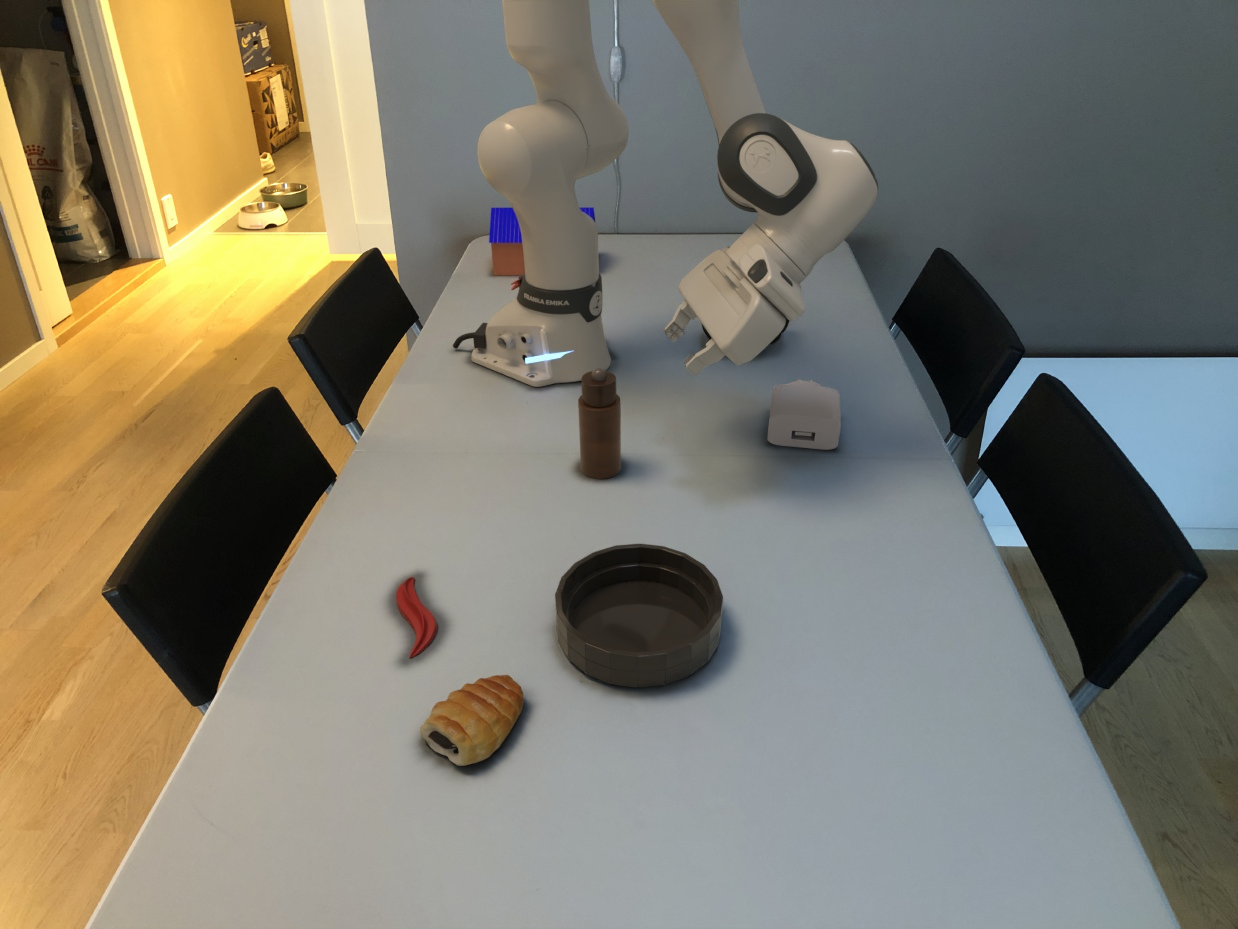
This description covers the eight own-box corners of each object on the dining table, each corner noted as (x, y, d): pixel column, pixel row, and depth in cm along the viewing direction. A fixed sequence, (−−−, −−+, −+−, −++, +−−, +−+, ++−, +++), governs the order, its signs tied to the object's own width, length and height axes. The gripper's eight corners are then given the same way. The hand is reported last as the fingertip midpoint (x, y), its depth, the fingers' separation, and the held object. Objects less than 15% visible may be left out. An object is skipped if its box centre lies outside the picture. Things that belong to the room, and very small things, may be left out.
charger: (835, 397, 127) (837, 451, 115) (772, 392, 128) (766, 444, 116) (839, 368, 124) (841, 419, 112) (774, 363, 126) (769, 413, 114)
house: (593, 275, 170) (592, 216, 163) (491, 275, 170) (486, 216, 164) (596, 255, 180) (595, 198, 173) (500, 255, 180) (495, 198, 174)
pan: (526, 653, 84) (522, 619, 82) (607, 559, 96) (606, 527, 93) (676, 715, 77) (678, 680, 75) (744, 606, 89) (747, 573, 87)
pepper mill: (573, 472, 111) (568, 373, 103) (593, 453, 115) (590, 356, 107) (608, 483, 109) (606, 382, 101) (628, 463, 112) (627, 364, 105)
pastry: (488, 676, 81) (485, 647, 79) (544, 708, 78) (542, 679, 76) (415, 743, 75) (409, 713, 73) (472, 781, 72) (468, 751, 70)
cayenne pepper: (433, 656, 84) (431, 642, 83) (385, 659, 83) (381, 645, 82) (443, 576, 94) (441, 562, 93) (400, 578, 93) (398, 565, 92)
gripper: (718, 224, 108) (641, 304, 112) (775, 282, 91) (682, 374, 95) (749, 256, 111) (673, 333, 115) (810, 318, 94) (719, 406, 98)
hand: (678, 352), depth 105 cm, fingers open, 8 cm apart
